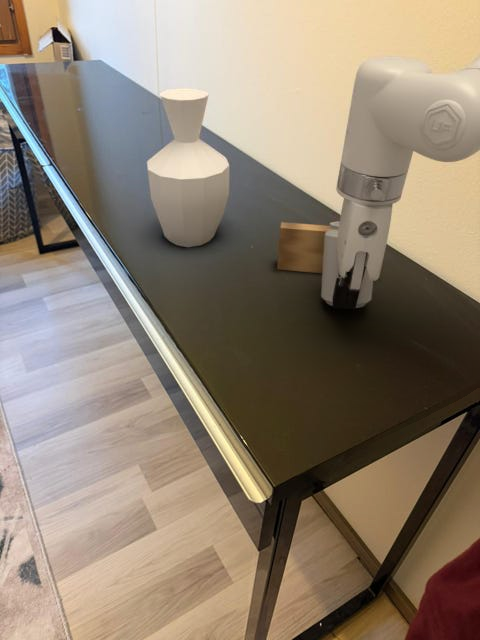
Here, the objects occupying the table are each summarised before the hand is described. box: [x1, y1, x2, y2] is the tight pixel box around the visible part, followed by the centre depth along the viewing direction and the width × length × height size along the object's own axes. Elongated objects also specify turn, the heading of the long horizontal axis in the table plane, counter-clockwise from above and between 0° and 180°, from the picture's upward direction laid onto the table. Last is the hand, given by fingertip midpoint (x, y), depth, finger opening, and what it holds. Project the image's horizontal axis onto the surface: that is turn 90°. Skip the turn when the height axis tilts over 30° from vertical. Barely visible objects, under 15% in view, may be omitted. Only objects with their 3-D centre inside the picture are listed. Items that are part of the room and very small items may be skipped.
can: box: [320, 221, 374, 309], centre depth 67 cm, size 8×8×12 cm
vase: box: [146, 87, 230, 248], centre depth 79 cm, size 14×14×25 cm
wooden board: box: [276, 221, 331, 274], centre depth 76 cm, size 16×2×8 cm, turn 82°
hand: (343, 305), depth 64 cm, fingers closed
